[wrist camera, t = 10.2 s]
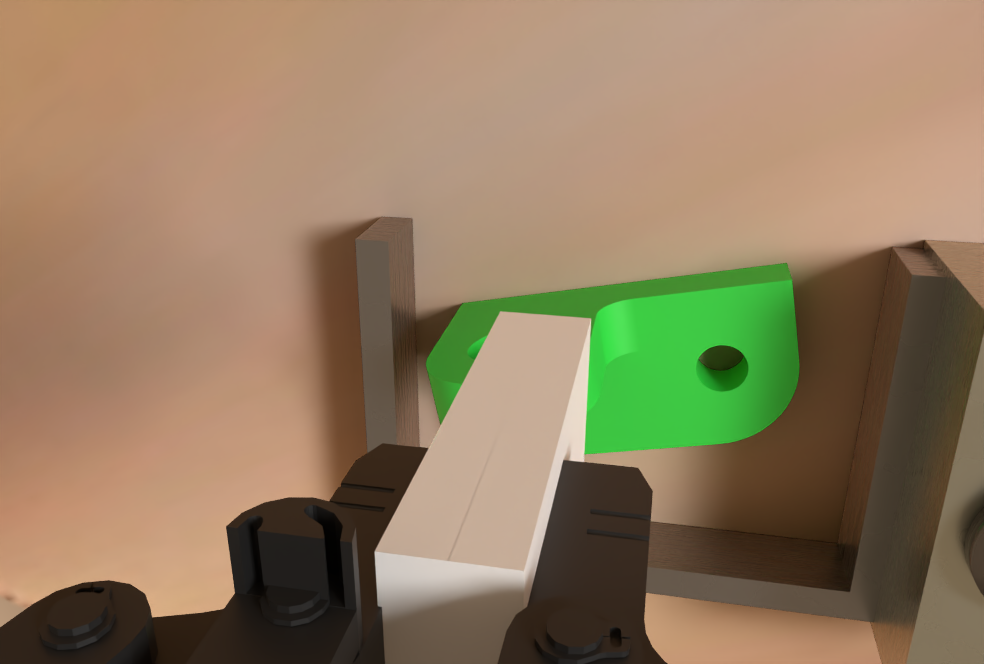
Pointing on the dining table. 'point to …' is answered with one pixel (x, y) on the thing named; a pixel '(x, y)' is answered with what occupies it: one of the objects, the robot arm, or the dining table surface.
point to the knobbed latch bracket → (873, 479)
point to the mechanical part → (658, 355)
